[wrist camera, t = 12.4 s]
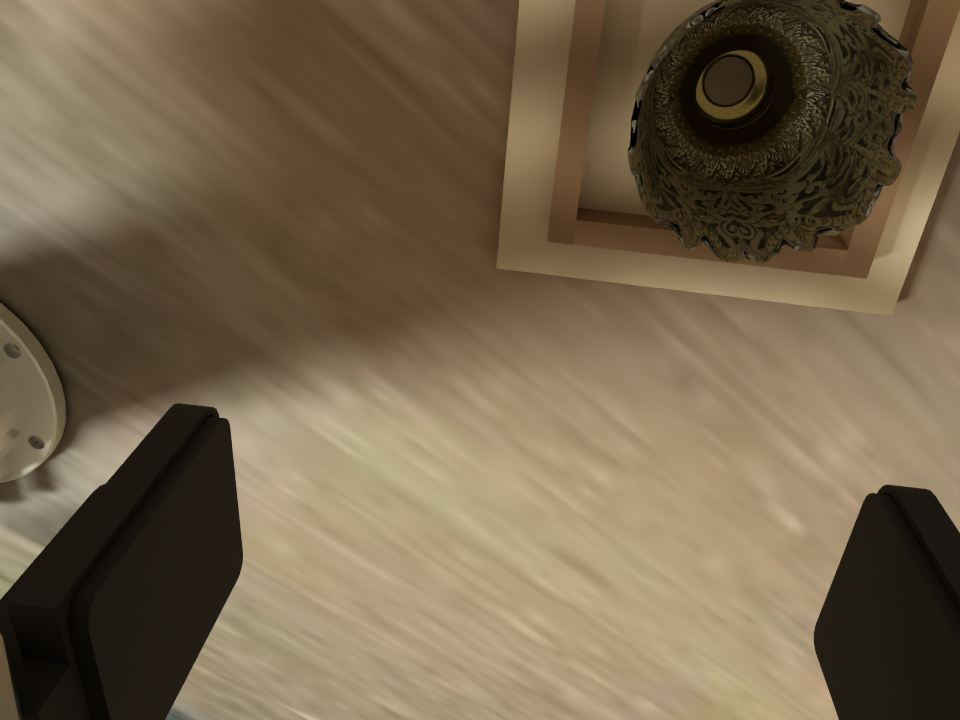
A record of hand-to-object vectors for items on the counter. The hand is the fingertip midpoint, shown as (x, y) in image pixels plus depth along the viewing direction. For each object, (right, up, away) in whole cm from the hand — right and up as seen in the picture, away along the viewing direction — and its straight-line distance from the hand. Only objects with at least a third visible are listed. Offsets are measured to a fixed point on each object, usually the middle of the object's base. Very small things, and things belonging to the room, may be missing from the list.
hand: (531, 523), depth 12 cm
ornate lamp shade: (+8, +12, +16) cm, 22 cm away
